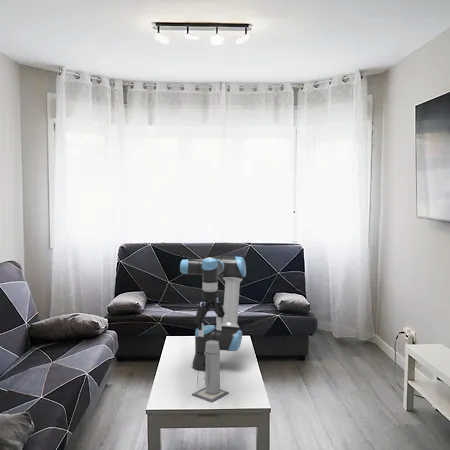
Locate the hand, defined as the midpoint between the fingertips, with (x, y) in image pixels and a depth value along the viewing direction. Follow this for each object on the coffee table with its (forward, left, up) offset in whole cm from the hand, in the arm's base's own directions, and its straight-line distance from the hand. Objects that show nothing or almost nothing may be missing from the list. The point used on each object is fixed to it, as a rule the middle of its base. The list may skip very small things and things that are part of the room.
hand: (210, 333), depth 222 cm
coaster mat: (0, 0, -31) cm, 31 cm away
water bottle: (-1, 0, -30) cm, 30 cm away
